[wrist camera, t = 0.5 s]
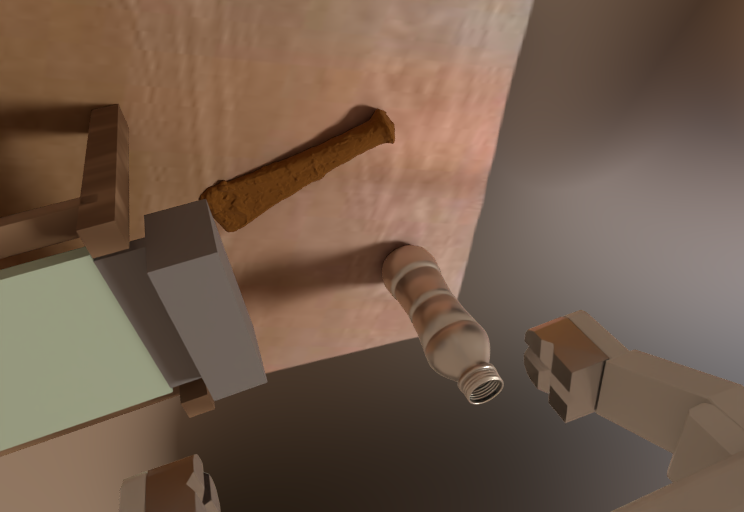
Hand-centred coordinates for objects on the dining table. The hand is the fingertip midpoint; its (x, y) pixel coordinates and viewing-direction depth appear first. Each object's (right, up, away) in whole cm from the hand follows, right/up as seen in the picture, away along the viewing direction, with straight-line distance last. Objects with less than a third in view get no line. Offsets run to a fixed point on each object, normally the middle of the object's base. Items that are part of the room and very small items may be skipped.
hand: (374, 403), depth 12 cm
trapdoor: (-20, -1, +24) cm, 32 cm away
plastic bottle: (+3, +3, +49) cm, 50 cm away
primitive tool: (-7, +12, +37) cm, 40 cm away
